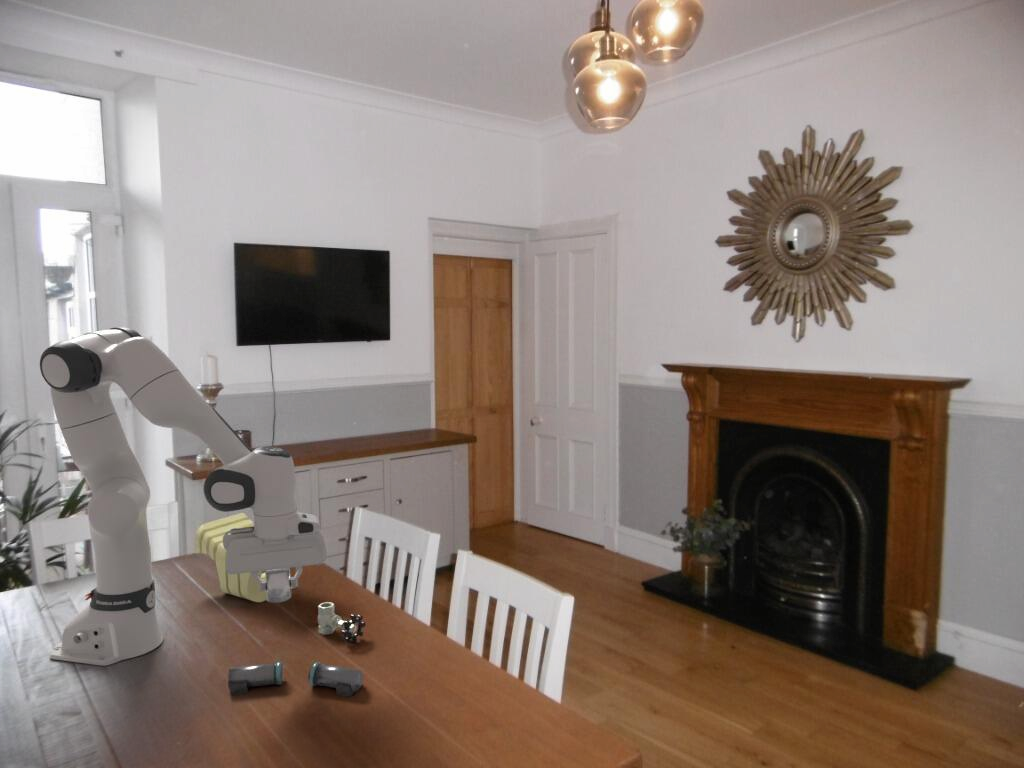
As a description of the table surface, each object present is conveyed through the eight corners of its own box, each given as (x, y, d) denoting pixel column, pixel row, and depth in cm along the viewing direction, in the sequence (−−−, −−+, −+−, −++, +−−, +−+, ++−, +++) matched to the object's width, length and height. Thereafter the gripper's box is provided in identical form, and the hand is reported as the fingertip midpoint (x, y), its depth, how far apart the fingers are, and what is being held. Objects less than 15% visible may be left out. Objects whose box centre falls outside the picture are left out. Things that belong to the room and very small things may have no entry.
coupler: (266, 603, 149) (265, 575, 149) (266, 594, 154) (265, 567, 154) (291, 600, 151) (290, 572, 150) (290, 591, 156) (289, 564, 155)
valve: (310, 634, 170) (344, 648, 163) (309, 607, 169) (343, 620, 162) (332, 624, 175) (366, 637, 168) (331, 598, 175) (365, 610, 168)
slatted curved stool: (197, 590, 197) (194, 526, 195) (245, 572, 210) (242, 512, 209) (273, 613, 182) (271, 544, 180) (320, 592, 195) (318, 528, 193)
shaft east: (364, 685, 147) (364, 664, 146) (352, 697, 142) (351, 676, 142) (321, 677, 150) (320, 657, 149) (307, 689, 145) (307, 668, 144)
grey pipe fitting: (228, 695, 143) (227, 674, 142) (232, 682, 148) (231, 662, 147) (281, 689, 145) (280, 668, 145) (283, 677, 150) (282, 656, 149)
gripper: (221, 534, 145) (224, 600, 146) (326, 523, 151) (328, 587, 153) (223, 525, 151) (226, 589, 152) (324, 515, 157) (326, 576, 158)
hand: (278, 588), depth 152 cm, fingers closed on coupler, 5 cm apart
